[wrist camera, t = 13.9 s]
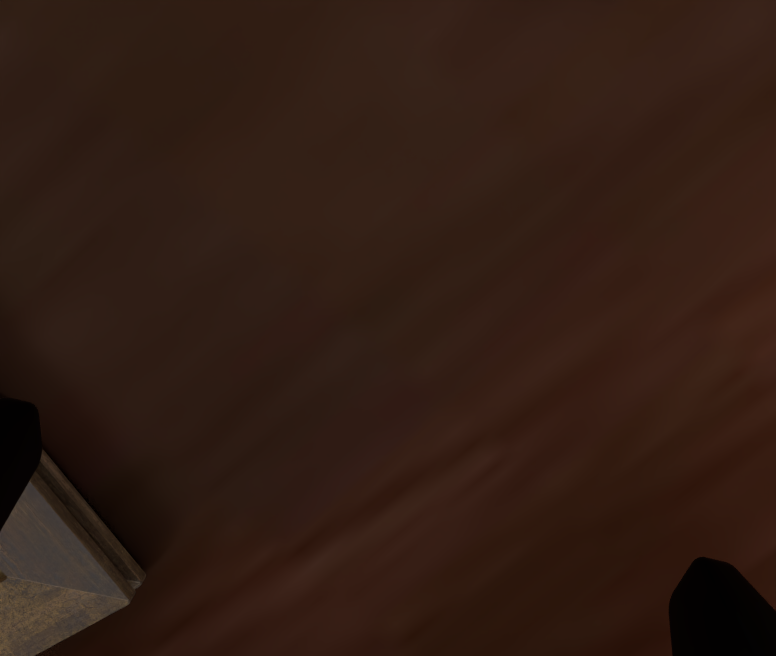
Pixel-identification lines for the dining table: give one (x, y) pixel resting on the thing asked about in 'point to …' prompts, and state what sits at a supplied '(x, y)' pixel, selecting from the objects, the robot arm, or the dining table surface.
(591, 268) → the dining table surface
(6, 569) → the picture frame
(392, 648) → the dining table surface
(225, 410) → the dining table surface
